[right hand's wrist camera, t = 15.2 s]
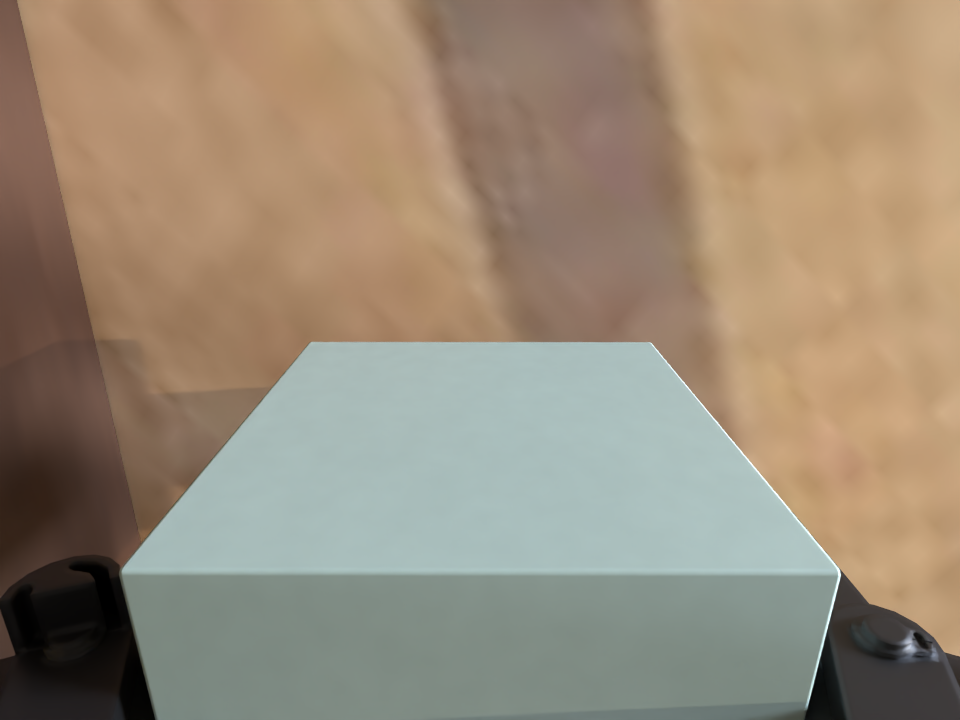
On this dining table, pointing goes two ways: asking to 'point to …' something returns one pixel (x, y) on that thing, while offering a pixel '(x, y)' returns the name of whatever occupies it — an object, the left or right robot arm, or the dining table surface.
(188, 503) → the sage cap block
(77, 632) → the right robot arm
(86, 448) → the walnut rail
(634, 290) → the dining table surface
